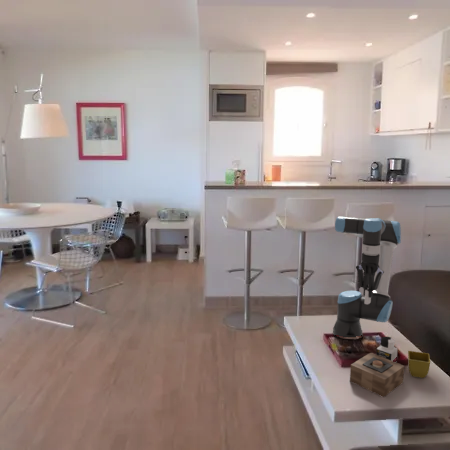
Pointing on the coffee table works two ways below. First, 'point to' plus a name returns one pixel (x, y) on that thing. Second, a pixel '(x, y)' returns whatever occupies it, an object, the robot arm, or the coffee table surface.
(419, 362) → the flower pot
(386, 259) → the robot arm
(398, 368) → the socket block
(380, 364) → the peg
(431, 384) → the coffee table surface
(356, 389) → the coffee table surface
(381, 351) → the medicine bottle
